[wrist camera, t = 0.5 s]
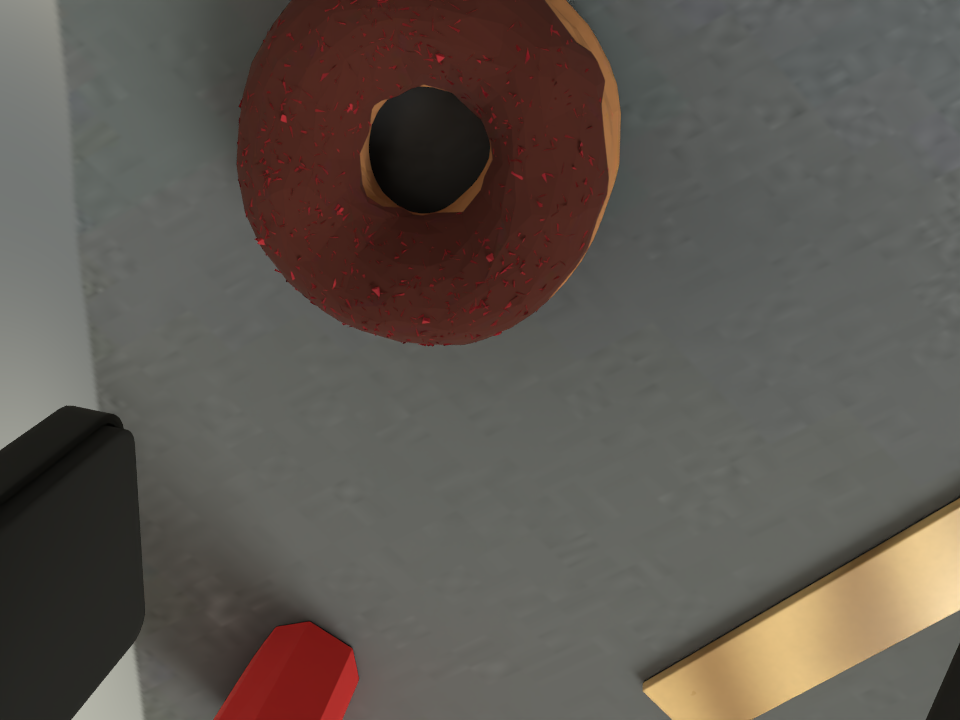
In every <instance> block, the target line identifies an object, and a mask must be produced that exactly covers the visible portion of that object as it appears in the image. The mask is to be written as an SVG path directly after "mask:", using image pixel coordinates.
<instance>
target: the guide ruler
mask: <svg viewBox="0 0 960 720" xmlns="http://www.w3.org/2000/svg"><path fill="white" fill-rule="evenodd" d="M959 610H960V498H959V499H957V500H956V501H954V502H952V503H951V504H949V505H947V506H945V507H944V508H942V509H940V510H939V511H937V512H935V513H933V514H932V515H930V516H928V517H927V518H925V519H923V520H921V521H920V522H918V523H916V524H915V525H913V526H911V527H909V528H908V529H906V530H904V531H903V532H901V533H899V534H897V535H896V536H894V537H892V538H891V539H889V540H887V541H885V542H884V543H882V544H880V545H879V546H877V547H875V548H873V549H872V550H870V551H868V552H867V553H865V554H863V555H861V556H860V557H858V558H856V559H855V560H853V561H851V562H849V563H848V564H846V565H844V566H843V567H841V568H839V569H837V570H836V571H834V572H832V573H831V574H829V575H827V576H825V577H824V578H822V579H820V580H819V581H817V582H815V583H813V584H812V585H810V586H808V587H807V588H805V589H803V590H801V591H800V592H798V593H796V594H795V595H793V596H791V597H789V598H788V599H786V600H784V601H783V602H781V603H779V604H777V605H776V606H774V607H772V608H771V609H769V610H767V611H765V612H764V613H762V614H760V615H759V616H757V617H755V618H753V619H752V620H750V621H748V622H747V623H745V624H743V625H741V626H740V627H738V628H736V629H735V630H733V631H731V632H729V633H728V634H726V635H724V636H722V637H721V638H719V639H717V640H716V641H714V642H712V643H710V644H709V645H707V646H705V647H704V648H702V649H700V650H698V651H697V652H695V653H693V654H692V655H690V656H688V657H686V658H685V659H683V660H681V661H680V662H678V663H676V664H674V665H673V666H671V667H669V668H668V669H666V670H664V671H662V672H661V673H659V674H657V675H656V676H654V677H652V678H650V679H649V680H647V681H645V682H644V683H643V692H644V693H645V694H646V695H647V696H648V697H649V698H651V699H652V700H653V701H654V702H655V703H656V704H657V705H658V706H659V707H660V708H661V709H662V710H663V711H664V712H665V713H666V714H667V715H668V716H669V717H670V718H671V719H672V720H752V719H753V718H755V717H757V716H759V715H761V714H763V713H765V712H767V711H769V710H771V709H772V708H774V707H776V706H778V705H780V704H782V703H784V702H786V701H788V700H790V699H791V698H793V697H795V696H797V695H799V694H801V693H803V692H805V691H807V690H809V689H810V688H812V687H814V686H816V685H818V684H820V683H822V682H824V681H826V680H828V679H829V678H831V677H833V676H835V675H837V674H839V673H841V672H843V671H845V670H847V669H848V668H850V667H852V666H854V665H856V664H858V663H860V662H862V661H864V660H866V659H867V658H869V657H871V656H873V655H875V654H877V653H879V652H881V651H883V650H885V649H886V648H888V647H890V646H892V645H894V644H896V643H898V642H900V641H902V640H904V639H905V638H907V637H909V636H911V635H913V634H915V633H917V632H919V631H921V630H922V629H924V628H926V627H928V626H930V625H932V624H934V623H936V622H938V621H940V620H941V619H943V618H945V617H947V616H949V615H951V614H953V613H955V612H957V611H959Z"/></svg>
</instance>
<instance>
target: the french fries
mask: <svg viewBox="0 0 960 720" xmlns="http://www.w3.org/2000/svg"><path fill="white" fill-rule="evenodd" d="M358 681H359V676H358V672H357V667H356V662H355V658H354V653H353V649H352V648H351V647H349V646H348V645H346V644H344V643H343V642H341V641H340V640H338V639H337V638H335V637H333V636H332V635H330V634H329V633H327V632H326V631H324V630H322V629H321V628H319V627H318V626H316V625H315V624H313V623H311V622H310V621H309V622H303V623H296V624H290V625H284V626H278V627H276V628H275V629H274V630H273V631H272V633H271V634H270V635H269V636H268V638H267V639H266V640H265V642H264V643H263V644H262V646H261V647H260V648H259V650H258V651H257V653H256V654H255V655H254V657H253V658H252V660H251V661H250V663H249V664H248V666H247V667H246V669H245V670H244V672H243V674H242V675H241V677H240V678H239V680H238V681H237V683H236V685H235V686H234V688H233V689H232V691H231V692H230V694H229V696H228V697H227V699H226V700H225V702H224V704H223V705H222V707H221V708H220V710H219V711H218V713H217V715H216V716H215V718H214V719H213V720H342V719H343V716H344V714H345V711H346V709H347V707H348V704H349V702H350V700H351V697H352V695H353V693H354V690H355V688H356V685H357V683H358Z"/></svg>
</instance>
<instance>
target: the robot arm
mask: <svg viewBox="0 0 960 720" xmlns="http://www.w3.org/2000/svg"><path fill="white" fill-rule="evenodd" d="M144 616H145V602H144V586H143V569H142V553H141V537H140V521H139V504H138V488H137V472H136V455H135V442H134V437H133V435H132V433H131V432H130V431H128V430H126V429H124V428H123V424H122V422H121V420H120V418H119V417H117V416H116V415H114V414H110V413H105V412H100V411H95V410H90V409H86V408H81V407H76V406H65V407H62V408H60V409H58V410H57V411H56V412H54V413H53V414H51V415H50V416H48V417H47V418H46V419H44V420H43V421H41V422H40V423H38V424H37V425H36V426H34V427H33V428H31V429H30V430H28V431H27V432H26V433H24V434H23V435H21V436H20V437H18V438H17V439H16V440H14V441H13V442H11V443H10V444H8V445H7V446H6V447H4V448H3V449H1V450H0V720H71V719H72V718H73V717H74V716H75V714H76V713H77V712H78V710H79V709H80V708H81V707H82V706H83V705H84V703H85V702H86V701H87V700H88V698H89V697H90V696H91V695H92V693H93V692H94V691H95V690H96V688H97V687H98V686H99V685H100V683H101V682H102V681H103V680H104V678H105V677H106V676H107V675H108V674H109V672H110V671H111V670H112V669H113V667H114V666H115V665H116V664H117V663H118V661H119V660H120V659H121V658H122V656H123V655H124V654H125V653H126V651H127V650H128V649H129V648H130V647H131V645H132V644H133V643H134V641H135V640H136V638H137V636H138V634H139V632H140V630H141V627H142V624H143V621H144ZM926 720H960V644H959V646H958V648H957V650H956V653H955V655H954V657H953V659H952V662H951V664H950V666H949V669H948V671H947V673H946V675H945V678H944V680H943V682H942V684H941V687H940V689H939V691H938V693H937V696H936V698H935V700H934V703H933V705H932V707H931V709H930V712H929V714H928V716H927V718H926Z"/></svg>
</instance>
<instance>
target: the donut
mask: <svg viewBox="0 0 960 720" xmlns="http://www.w3.org/2000/svg"><path fill="white" fill-rule="evenodd" d="M419 86H422V87H434V88H438V89H441V90H445V91H448V92H451V93H453V94H454V95H455V96H456V97H457V98H458V99H459V100H460V101H461V102H462V103H463V104H464V105H465V106H466V107H468V108H469V109H470V110H471V111H472V112H473V113H474V114H475V115H476V116H477V117H478V118H480V119H481V120H482V122H483V125H484V127H485V130H486V133H487V135H488V138H489V141H490V154H489V159H488V161H487V163H486V166H485V168H484V170H483V171H482V173H481V174H480V176H479V177H478V179H477V180H476V181H475V183H474V184H473V185H472V186H471V187H470V188H469V189H468V190H467V191H466V192H465V193H464V194H462V195H461V196H460V197H459V198H458V199H457V200H456V201H455V202H454V203H452V204H451V205H449V206H448V207H446V208H445V209H442V210H440V211H437V212H433V213H423V214H420V213H415V212H410V211H408V210H406V209H404V208H402V207H400V206H398V205H397V204H395V203H394V202H393V201H392V200H391V199H390V198H388V197H387V196H386V195H385V194H384V193H383V192H382V190H381V188H380V187H379V185H378V183H377V182H376V180H375V177H374V174H373V171H372V168H371V164H370V157H369V138H370V132H371V126H372V123H373V121H374V119H375V117H376V114H377V112H378V110H379V109H380V108H381V107H382V105H383V104H384V103H385V102H386V101H387V100H388V99H390V98H393V97H397V96H398V95H400V94H402V93H404V92H406V91H408V90H409V89H412V88H415V87H419ZM240 101H241V103H240V105H239V107H240V108H241V114H240V117H239V124H238V125H239V131H238V142H237V144H238V149H237V171H238V178H239V179H238V181H239V184H240V188H241V194H242V199H243V204H244V209H245V213H246V217H247V218H248V220H249V222H250V224H251V226H252V228H253V231H254V233H255V235H256V237H257V238H256V240H257V241H258V243H257V244H260V246H261V247H262V249H263V250H264V251H265V253H266V255H268V257H269V258H270V259H271V260H272V262H273V263H274V264H275V265H276V267H277V268H278V269H279V271H278V270H276V269H275V271H277V272H280V273H282V274H283V276H284V277H285V278H286V282H287V281H288V282H289V283H290V284H291V285H292V286H293V287H295V288H296V290H298V291H299V292H301V293H302V294H303V296H305V297H306V298H308V299H309V300H310V301H311V303H312V304H314V305H316V306H318V307H319V308H320V309H321V310H323V311H324V312H326V313H327V314H329V315H331V316H332V317H334V318H335V319H337V320H339V321H341V322H343V323H345V324H343V323H342V324H343V325H346V324H347V325H350V326H349V327H354V328H357V329H359V330H361V331H365V332H368V333H372V334H375V335H379V336H382V337H385V338H389V339H392V340H396V341H399V342H401V343H402V342H403V344H404V343H406V342H410V343H420V345H424V346H426V344H427V346H430V345H431V346H434V345H433V344H438V345H444V346H445V345H465V344H469V343H473V342H477V341H480V340H483V339H486V338H488V337H491V336H495V335H499V334H501V333H502V331H504V330H507V329H509V328H511V327H513V326H514V325H516V324H517V323H519V322H521V321H522V320H524V319H525V318H527V317H528V316H530V315H531V314H533V313H534V312H535V311H536V310H538V309H539V308H540V307H541V306H542V305H543V304H545V303H546V302H547V301H548V300H549V299H550V298H551V297H552V296H553V295H554V294H555V293H556V292H557V291H558V290H559V288H560V287H561V286H562V285H563V284H564V283H565V282H566V281H567V280H568V278H569V277H570V276H571V274H572V273H573V272H574V270H575V269H576V268H577V266H578V265H579V264H580V262H581V261H582V259H583V257H584V255H585V254H586V252H587V250H588V248H589V247H590V245H591V243H592V241H593V239H594V237H595V234H596V232H597V230H598V227H599V224H600V222H601V220H602V217H603V214H604V211H605V209H606V206H607V203H608V200H609V197H610V194H611V192H612V189H613V186H614V183H615V179H616V175H617V171H618V167H619V154H620V123H621V111H620V103H619V96H618V89H617V83H616V81H615V78H614V75H613V72H612V69H611V66H610V64H609V61H608V59H607V58H606V56H605V54H604V52H603V50H602V48H601V46H600V44H599V42H598V40H597V38H596V37H595V35H594V33H593V32H592V30H591V29H590V27H589V25H588V24H587V23H586V22H585V21H584V20H583V19H582V17H581V16H580V15H579V14H578V13H577V12H576V11H575V10H574V9H573V8H572V6H571V5H570V4H569V3H568V2H567V1H566V0H291V2H290V3H289V4H288V5H287V7H286V8H285V9H284V11H283V12H282V13H281V15H280V16H279V17H278V18H277V20H276V21H275V22H274V24H273V25H272V27H271V29H270V31H269V33H267V36H266V38H265V40H263V43H262V45H261V47H260V49H259V51H258V52H257V54H256V56H255V58H254V60H253V62H252V64H251V67H250V71H249V75H248V78H247V82H246V86H245V89H244V93H243V98H242V100H240ZM241 105H242V107H241ZM536 312H537V311H536Z"/></svg>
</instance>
